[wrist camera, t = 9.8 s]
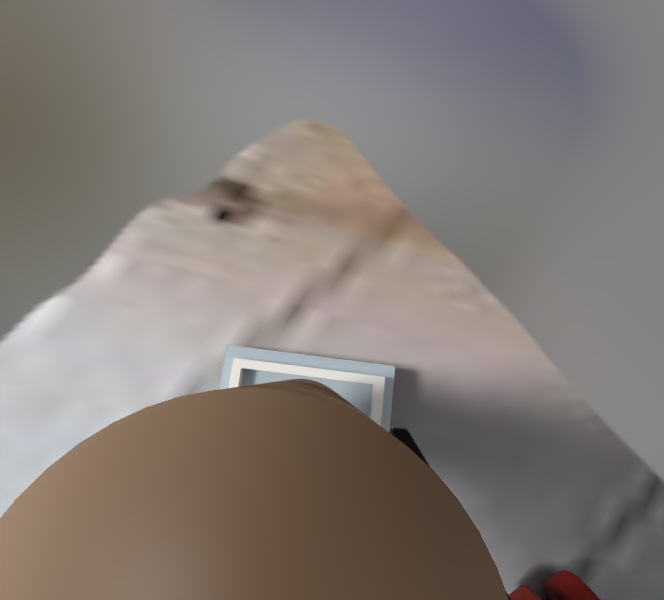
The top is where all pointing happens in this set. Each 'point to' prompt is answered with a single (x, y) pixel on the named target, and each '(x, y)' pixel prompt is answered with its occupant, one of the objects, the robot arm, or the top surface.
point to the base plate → (315, 377)
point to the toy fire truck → (558, 589)
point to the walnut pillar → (243, 509)
